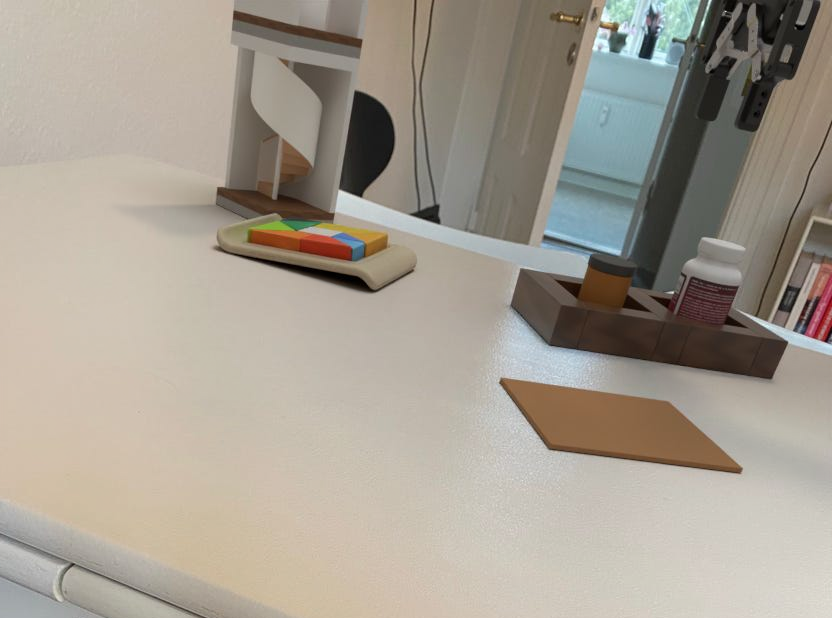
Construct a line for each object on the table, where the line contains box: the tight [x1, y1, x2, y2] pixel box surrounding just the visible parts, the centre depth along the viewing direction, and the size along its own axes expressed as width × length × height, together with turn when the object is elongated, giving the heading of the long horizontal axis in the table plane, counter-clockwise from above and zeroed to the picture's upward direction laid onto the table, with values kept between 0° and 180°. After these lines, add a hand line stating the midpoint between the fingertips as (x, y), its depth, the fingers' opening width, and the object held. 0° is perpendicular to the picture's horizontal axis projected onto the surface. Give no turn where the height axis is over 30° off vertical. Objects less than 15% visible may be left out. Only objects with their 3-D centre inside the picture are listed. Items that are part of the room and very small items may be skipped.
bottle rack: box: [510, 267, 789, 380], centre depth 98 cm, size 26×14×4 cm, turn 97°
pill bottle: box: [668, 236, 747, 325], centre depth 97 cm, size 6×6×11 cm
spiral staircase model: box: [215, 0, 370, 224], centre depth 109 cm, size 11×11×35 cm
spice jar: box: [578, 252, 638, 308], centre depth 96 cm, size 5×5×8 cm
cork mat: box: [499, 377, 744, 474], centre depth 74 cm, size 16×14×1 cm
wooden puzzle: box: [216, 213, 418, 291], centre depth 102 cm, size 18×19×4 cm
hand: (723, 124), depth 89 cm, fingers open, 8 cm apart
